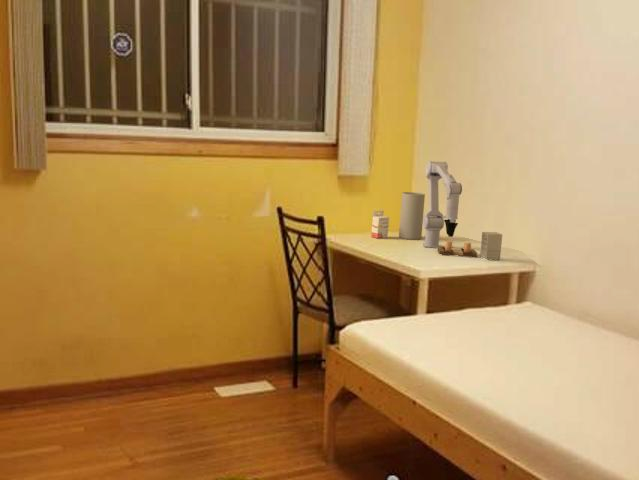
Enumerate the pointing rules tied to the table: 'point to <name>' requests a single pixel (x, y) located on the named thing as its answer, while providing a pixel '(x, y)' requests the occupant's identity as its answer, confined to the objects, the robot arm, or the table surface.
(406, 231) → the cylinder vase
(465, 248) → the pin
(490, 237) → the supplement box
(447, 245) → the loose pin
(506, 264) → the table surface
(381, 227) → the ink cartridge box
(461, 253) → the wooden grid frame
